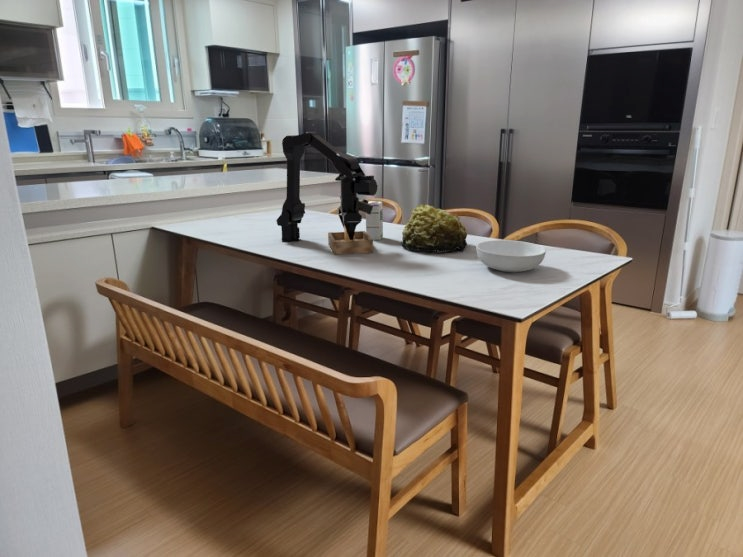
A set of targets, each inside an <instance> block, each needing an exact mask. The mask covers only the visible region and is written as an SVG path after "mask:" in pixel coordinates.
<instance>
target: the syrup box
mask: <svg viewBox="0 0 743 557" xmlns="http://www.w3.org/2000/svg"><path fill="white" fill-rule="evenodd" d="M368 204H371V205H372V206H373V209H372V211H371V214H367V213H366V212H365V232H366V233H367V234H368V235H369V236H370V238H371V239H372V240H373V241H381V239H382V238H383V237H384V226H383V224H384V223H383V222H384V221H383V220H384V219H383V216H384V215H383V201H379V200H370V201H368Z"/></svg>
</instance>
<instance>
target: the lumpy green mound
mask: <svg viewBox="0 0 743 557" xmlns="http://www.w3.org/2000/svg"><path fill="white" fill-rule="evenodd" d="M401 235H402V238H401V239H402V241H401V247H405V249H406V250H412V252H413V251H418V252H424V253H425V252H426V253H428V252H429V253H432V252H437V253H443V252H445V253H446V254H447V253H449V252H450V251H456V250H457V249H458V250H459V251H461V252H464V250H465V249H466V248H467V246H468V242H467V236H468V234H467V229H466V227H465V226H464V225H463V224H462V221H461V217H459V216H458V215H457V214H455V216H454V215H453V214H452V213H451V212H450V211H447V210H445V209H441V208H439V207H438V208H436V207H434V206H433V205H429V204H425V205H423V204H419V205H417V206H416V207H414V208H413V210H412V211H411V216H410V219H409V220H408V222H407V224H406V225H405V226H404V229H403V230H402V233H401ZM448 251H449V252H448Z"/></svg>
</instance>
